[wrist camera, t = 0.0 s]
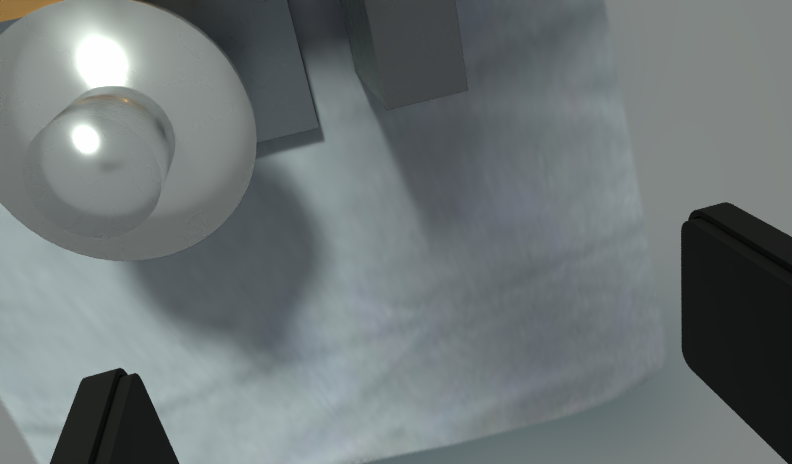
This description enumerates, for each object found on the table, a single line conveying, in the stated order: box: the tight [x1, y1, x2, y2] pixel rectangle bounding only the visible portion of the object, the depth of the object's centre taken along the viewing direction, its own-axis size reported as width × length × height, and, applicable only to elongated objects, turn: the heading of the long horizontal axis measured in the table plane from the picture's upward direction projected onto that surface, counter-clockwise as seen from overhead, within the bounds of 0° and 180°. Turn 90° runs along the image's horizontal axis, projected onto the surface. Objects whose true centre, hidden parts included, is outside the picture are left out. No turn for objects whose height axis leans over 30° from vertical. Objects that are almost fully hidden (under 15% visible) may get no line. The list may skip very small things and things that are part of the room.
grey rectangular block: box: [340, 0, 468, 110], centre depth 35 cm, size 5×4×10 cm
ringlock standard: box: [0, 0, 319, 261], centre depth 30 cm, size 22×23×15 cm
